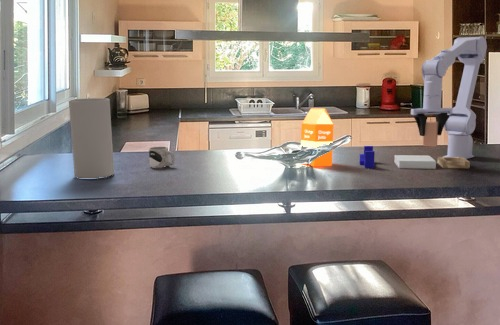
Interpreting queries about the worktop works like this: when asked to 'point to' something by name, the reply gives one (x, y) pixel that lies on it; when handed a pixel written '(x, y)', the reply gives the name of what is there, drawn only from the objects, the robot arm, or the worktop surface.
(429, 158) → the platform
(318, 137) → the orange juice
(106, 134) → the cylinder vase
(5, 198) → the worktop surface
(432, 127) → the block
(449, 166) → the socket
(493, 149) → the worktop surface
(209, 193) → the worktop surface
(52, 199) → the worktop surface
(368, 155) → the cable clip
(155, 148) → the mug
